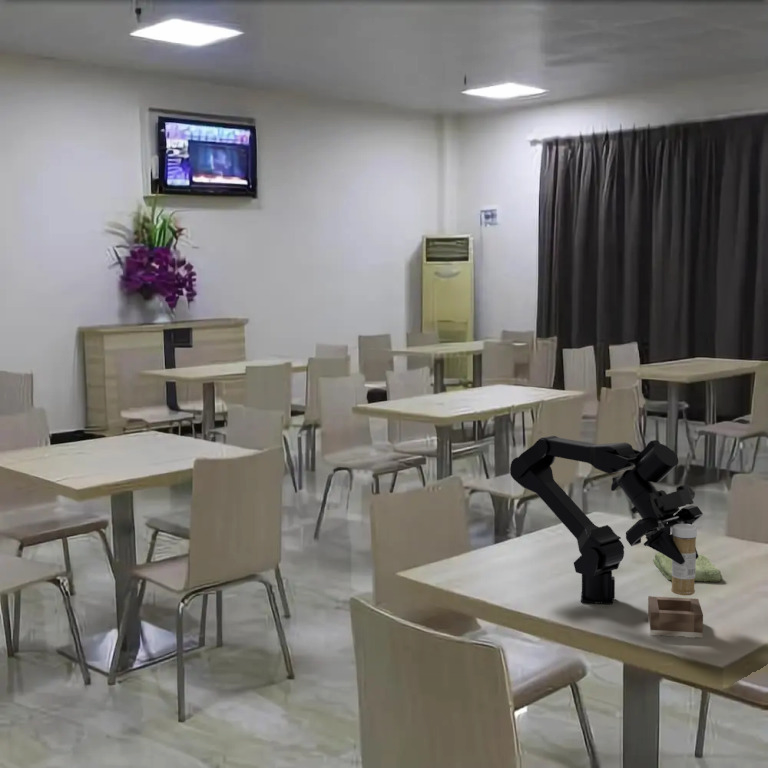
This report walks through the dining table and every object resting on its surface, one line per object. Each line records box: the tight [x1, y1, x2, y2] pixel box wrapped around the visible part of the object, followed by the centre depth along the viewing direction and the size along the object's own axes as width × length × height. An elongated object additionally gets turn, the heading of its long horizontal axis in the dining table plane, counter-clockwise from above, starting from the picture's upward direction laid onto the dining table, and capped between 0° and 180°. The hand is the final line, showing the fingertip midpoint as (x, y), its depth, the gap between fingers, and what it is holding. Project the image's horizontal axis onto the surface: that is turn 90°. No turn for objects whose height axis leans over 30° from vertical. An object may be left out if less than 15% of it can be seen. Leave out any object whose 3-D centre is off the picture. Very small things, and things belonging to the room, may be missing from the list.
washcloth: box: [652, 552, 723, 583], centre depth 229 cm, size 13×18×3 cm
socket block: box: [647, 595, 704, 639], centre depth 193 cm, size 10×10×4 cm
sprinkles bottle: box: [670, 524, 698, 596], centre depth 193 cm, size 5×5×13 cm
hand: (689, 561), depth 192 cm, fingers closed on sprinkles bottle, 4 cm apart
